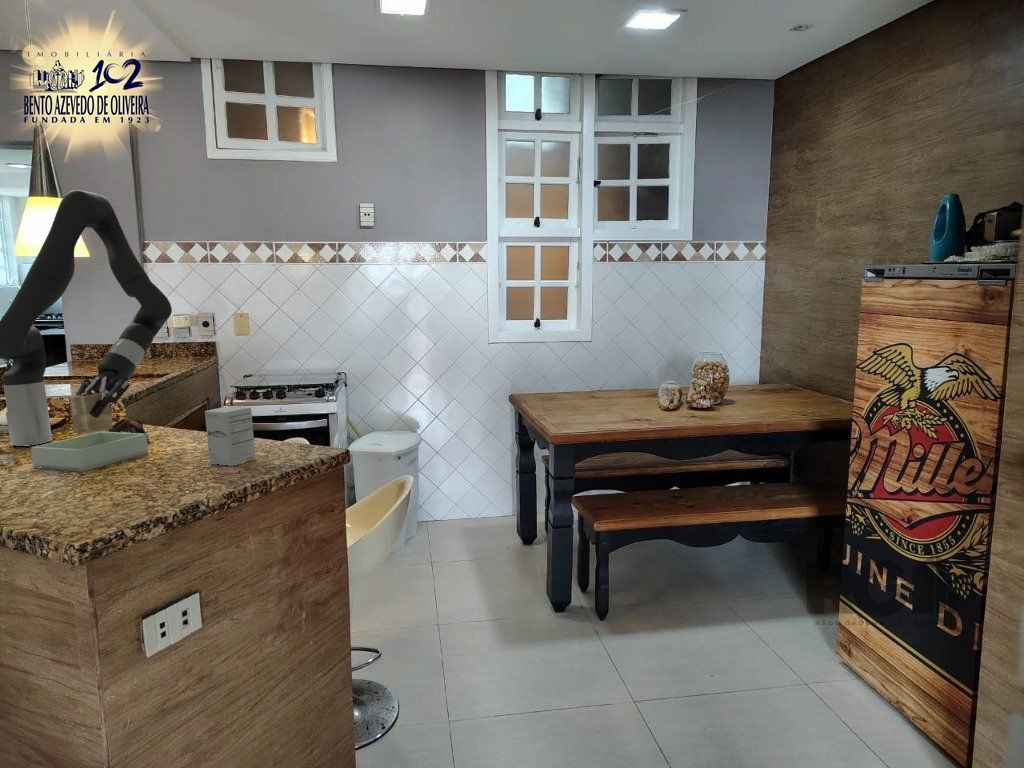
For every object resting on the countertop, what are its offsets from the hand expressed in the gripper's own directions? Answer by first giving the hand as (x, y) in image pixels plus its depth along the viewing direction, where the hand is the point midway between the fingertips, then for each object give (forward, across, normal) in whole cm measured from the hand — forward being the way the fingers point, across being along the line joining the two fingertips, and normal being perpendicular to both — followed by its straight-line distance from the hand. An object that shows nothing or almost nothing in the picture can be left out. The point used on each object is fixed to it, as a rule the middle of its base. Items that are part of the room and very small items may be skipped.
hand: (84, 415), depth 165 cm
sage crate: (+8, 0, +8) cm, 11 cm away
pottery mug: (-4, -8, +21) cm, 23 cm away
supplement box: (+4, +38, +13) cm, 40 cm away
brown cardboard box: (+2, 0, +4) cm, 5 cm away
